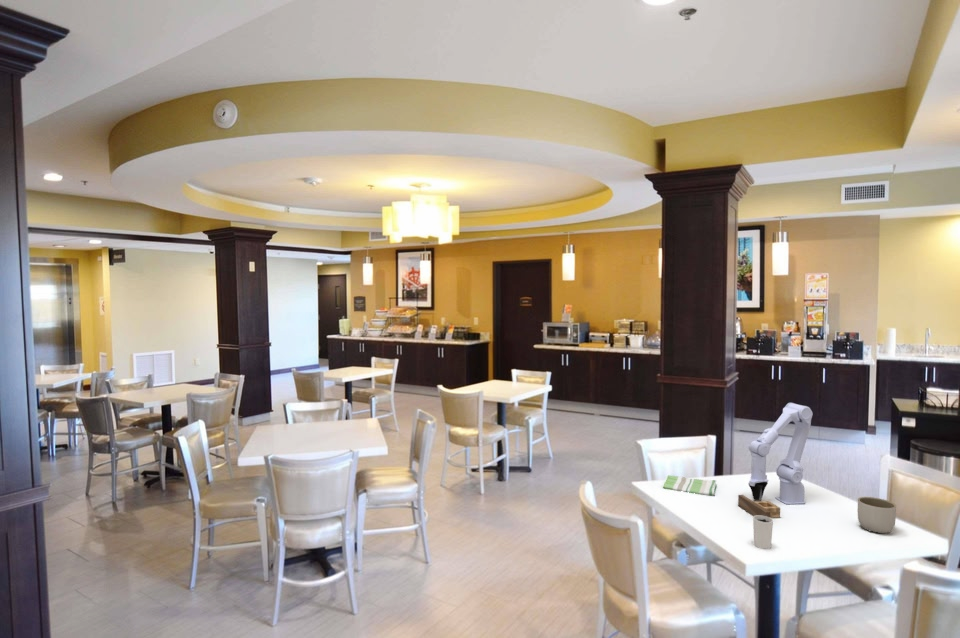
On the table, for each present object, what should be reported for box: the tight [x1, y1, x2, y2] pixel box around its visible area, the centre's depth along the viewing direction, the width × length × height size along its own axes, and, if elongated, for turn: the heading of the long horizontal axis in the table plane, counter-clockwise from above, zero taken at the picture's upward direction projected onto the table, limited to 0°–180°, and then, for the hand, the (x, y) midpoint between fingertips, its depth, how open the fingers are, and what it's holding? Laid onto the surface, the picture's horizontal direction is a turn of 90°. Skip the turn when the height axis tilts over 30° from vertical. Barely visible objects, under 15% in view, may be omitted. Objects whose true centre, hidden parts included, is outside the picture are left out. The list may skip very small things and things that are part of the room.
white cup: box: [752, 515, 774, 550], centre depth 208 cm, size 7×7×10 cm
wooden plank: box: [737, 494, 770, 517], centre depth 237 cm, size 2×20×5 cm, turn 5°
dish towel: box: [662, 474, 718, 497], centre depth 271 cm, size 17×23×4 cm
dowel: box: [753, 489, 763, 501], centre depth 250 cm, size 3×3×8 cm
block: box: [752, 500, 781, 519], centre depth 237 cm, size 8×8×4 cm
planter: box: [857, 496, 897, 534], centre depth 223 cm, size 12×12×11 cm
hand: (757, 498), depth 250 cm, fingers closed on dowel, 3 cm apart
